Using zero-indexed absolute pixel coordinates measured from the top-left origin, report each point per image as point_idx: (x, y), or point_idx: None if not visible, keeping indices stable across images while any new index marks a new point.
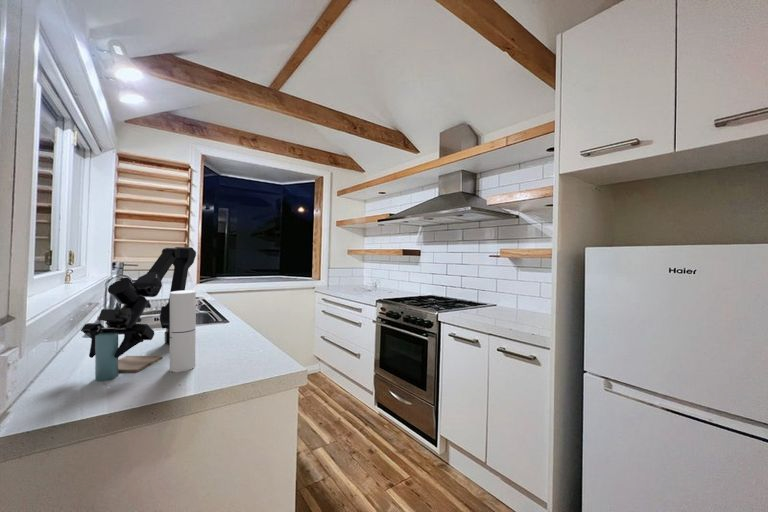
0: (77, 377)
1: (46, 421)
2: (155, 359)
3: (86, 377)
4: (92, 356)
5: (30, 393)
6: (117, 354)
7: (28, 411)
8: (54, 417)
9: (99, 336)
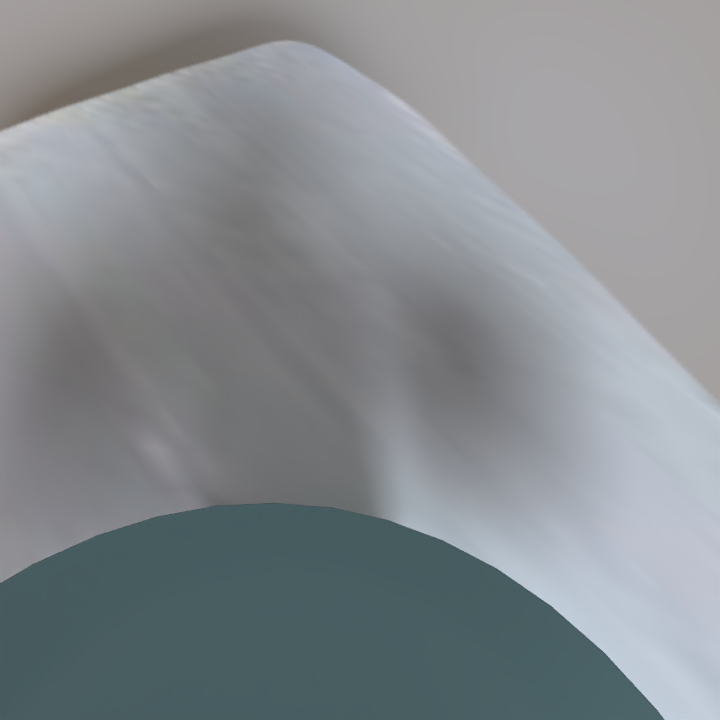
0: None
1: (222, 93)
2: None
3: None
4: None
5: (643, 353)
6: None
7: (399, 165)
8: (215, 117)
9: (361, 624)
